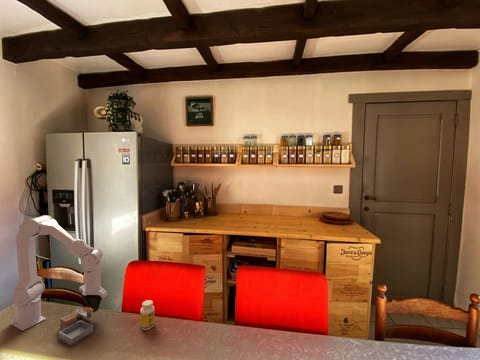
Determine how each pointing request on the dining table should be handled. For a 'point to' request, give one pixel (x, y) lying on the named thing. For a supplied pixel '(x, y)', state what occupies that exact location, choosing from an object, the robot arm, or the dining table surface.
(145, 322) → the supplement bottle
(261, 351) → the dining table surface
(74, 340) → the tray
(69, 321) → the block
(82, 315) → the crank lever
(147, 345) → the dining table surface
